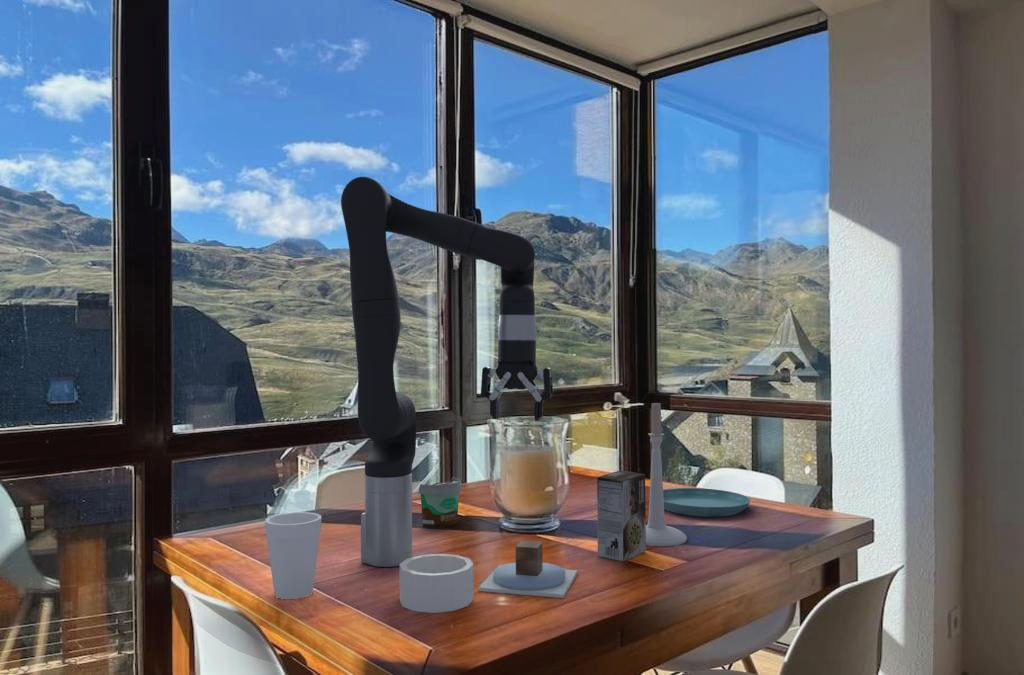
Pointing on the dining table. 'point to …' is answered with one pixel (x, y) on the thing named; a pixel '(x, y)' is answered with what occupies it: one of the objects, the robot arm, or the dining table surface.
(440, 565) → the bowl
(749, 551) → the dining table surface
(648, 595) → the dining table surface
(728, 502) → the saucer
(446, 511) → the food container
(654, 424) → the candlestick
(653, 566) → the dining table surface
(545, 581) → the lid
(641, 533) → the coffee box
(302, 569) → the foam cup
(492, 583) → the mat
